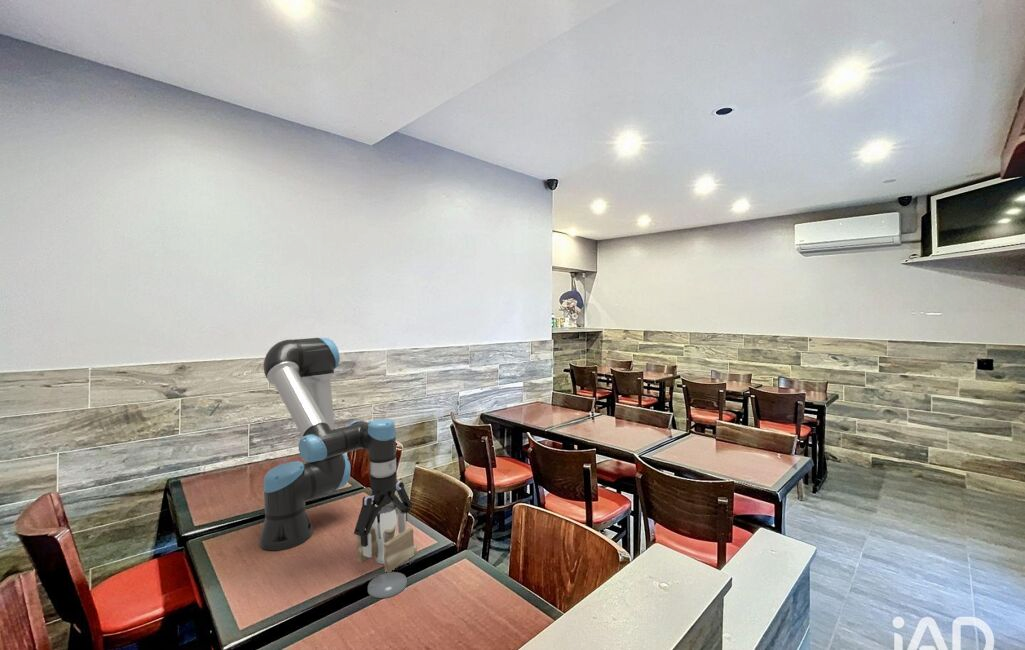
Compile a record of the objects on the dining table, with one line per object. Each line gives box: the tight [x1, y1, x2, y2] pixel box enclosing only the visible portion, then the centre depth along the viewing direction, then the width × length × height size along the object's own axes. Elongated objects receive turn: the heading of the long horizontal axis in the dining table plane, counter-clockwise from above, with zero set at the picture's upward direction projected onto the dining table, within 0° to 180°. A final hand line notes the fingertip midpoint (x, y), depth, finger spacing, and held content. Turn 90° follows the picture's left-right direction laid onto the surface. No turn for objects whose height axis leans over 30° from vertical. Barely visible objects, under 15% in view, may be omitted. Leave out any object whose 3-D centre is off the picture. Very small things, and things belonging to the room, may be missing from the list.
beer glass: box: [372, 503, 398, 565], centre depth 126 cm, size 7×7×15 cm
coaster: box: [367, 571, 408, 599], centre depth 113 cm, size 10×10×1 cm
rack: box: [356, 525, 418, 573], centre depth 126 cm, size 12×11×8 cm
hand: (385, 544), depth 126 cm, fingers open, 13 cm apart
